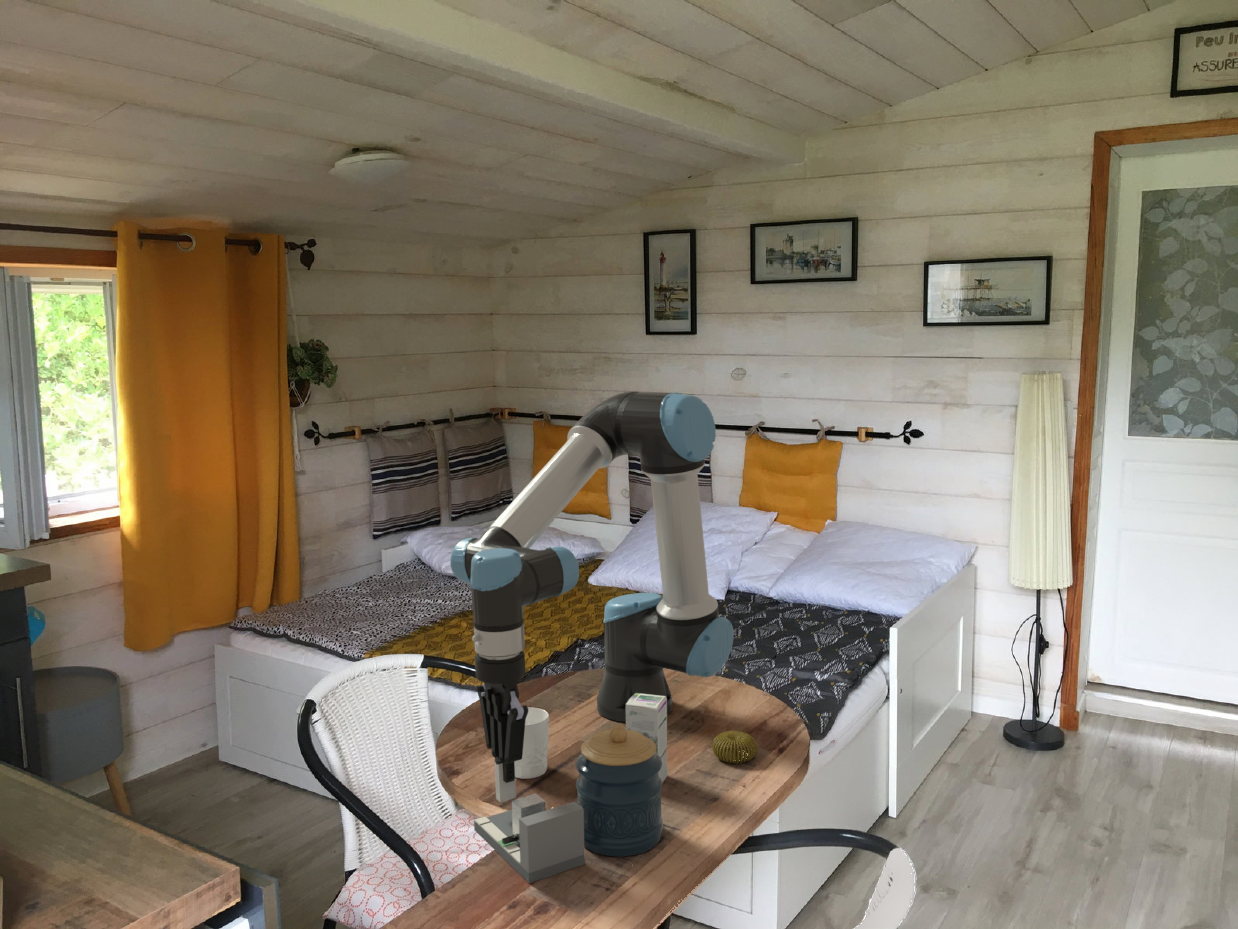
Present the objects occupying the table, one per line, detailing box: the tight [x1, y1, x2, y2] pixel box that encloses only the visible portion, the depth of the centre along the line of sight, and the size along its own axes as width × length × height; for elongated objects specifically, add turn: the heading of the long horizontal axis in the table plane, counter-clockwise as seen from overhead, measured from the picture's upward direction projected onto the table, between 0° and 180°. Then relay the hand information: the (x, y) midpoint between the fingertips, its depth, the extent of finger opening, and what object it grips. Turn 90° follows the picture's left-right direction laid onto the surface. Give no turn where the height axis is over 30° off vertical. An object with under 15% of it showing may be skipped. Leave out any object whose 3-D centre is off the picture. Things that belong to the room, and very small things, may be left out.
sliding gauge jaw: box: [502, 793, 546, 845], centre depth 150 cm, size 3×6×6 cm, turn 123°
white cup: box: [515, 706, 550, 780], centre depth 176 cm, size 8×8×10 cm
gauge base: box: [473, 801, 586, 884], centre depth 151 cm, size 18×9×8 cm, turn 33°
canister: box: [575, 724, 664, 857], centre depth 153 cm, size 13×13×18 cm
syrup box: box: [625, 693, 669, 784], centre depth 172 cm, size 6×6×14 cm
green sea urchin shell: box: [711, 730, 758, 764], centre depth 181 cm, size 8×4×8 cm
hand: (506, 798), depth 158 cm, fingers closed
